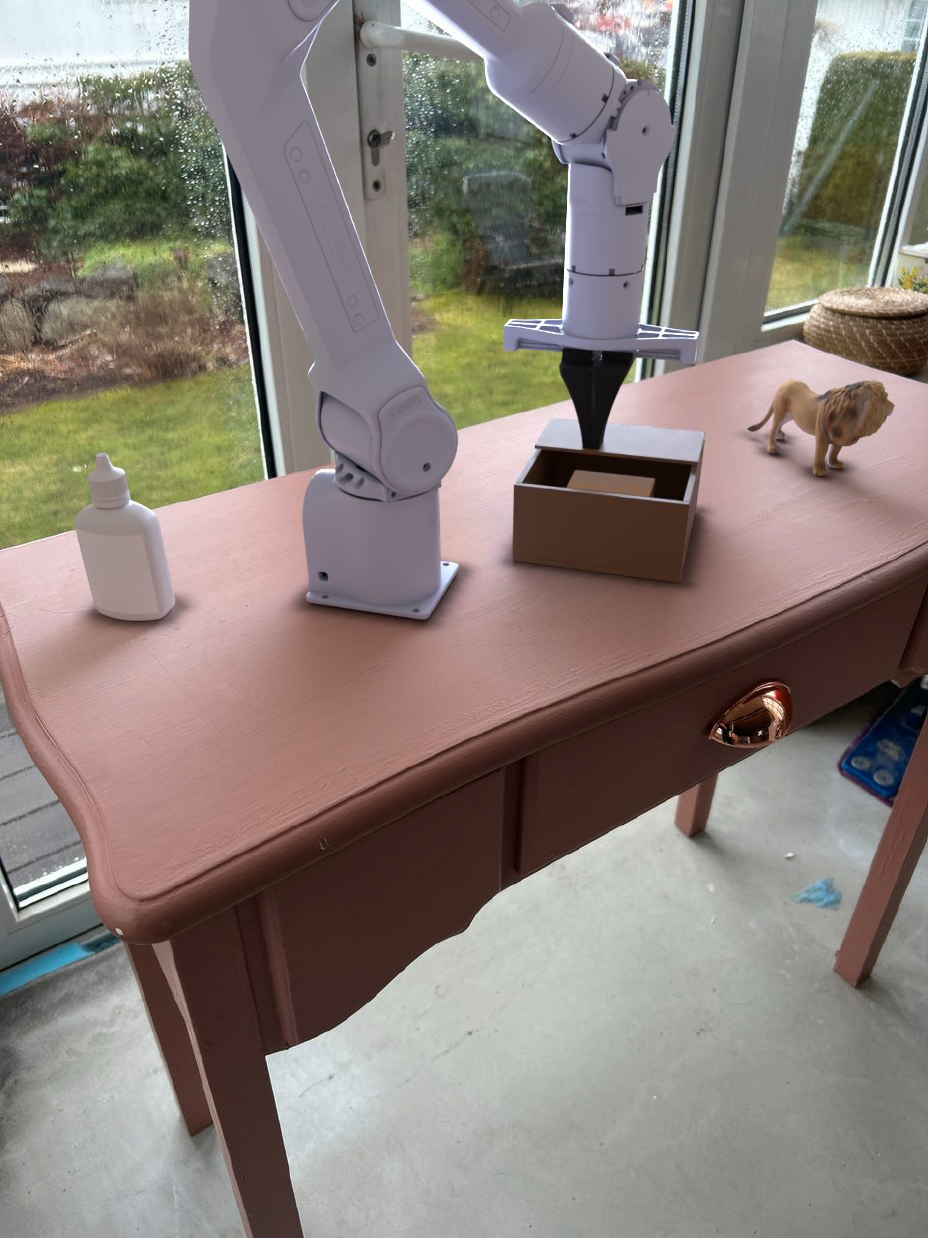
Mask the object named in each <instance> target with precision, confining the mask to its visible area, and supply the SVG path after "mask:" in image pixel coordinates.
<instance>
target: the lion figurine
mask: <svg viewBox="0 0 928 1238" xmlns="http://www.w3.org/2000/svg"><path fill="white" fill-rule="evenodd" d="M888 396H889V393H888V392H886V387H885V386H884V384H883V382H882V381H878V380H875V379H869V380H868V379H862V380H861V381H857V382H854V383H851V384H846V385H845V386H840V387H838V388H836V387H833V388H830V389H828V390H827V391H826V392H824V393H823V394H818V393H816V392H814V391H813V390H811V388H810V387H809V385H808V384H807V383H805V382H803V381H800V380H795V379H788V380H785V381H783V382H782V383H781V384H780V385H779V387H778V388H777V390H776V392H775V394H774V397H773V399H772V402H771V404H770V406H769V408H768V411H767V412H766V414H765V416H764V418H763V419H762V420H761V421H759V422H758V423H755V424H752V425H751V426H749V427H747V428H746V430H747V431H748V432H751V433H754V432H757V431H759V430H761V429H762V428H763V427H764V426H765V425H766V424H767V423H768V422H769V420H770V419H771V417H772V416H773V417H772V424H771V427H770V429H769V431H768V443H767V447H766V450H767V452H768V453H771V454H777V453H780V452H781V447H780V446H779V445H778V443H777V440H782V439H785V437H786V433H785V432H784V431H783V430H782V427H783V426H784V425H785V424H787V423H789V422H791V421H793V422H794V423H795V425H796V426H797V427H798V428H799V429H800V430H801V431H802V432H804V433H806V434H807V435H810V436H814V437H815V446H814V457H813V463H812V464H813V465H812V473H813V475H815V476H817V477H824V476H827V474H828V470H827V469H826V463H827V465H828V466H829V467H830V468H832V469H835V470H839V469H842V468H843V466H844V462H843V461H842V460H839V459H838V455H840V452H841V450H842V448H843V447H852V446H853V445H855V444H857V443H858V442H859V440H860V439H863V438H866V437H871V436H873V435H874V434H876V433H877V432H878V430H879V429H880V430H881V428H882V426H883V425H884V424H885V423H886V421H887V417H889V416H891V415H892V414H893V411H894V408H895V404H894V402H892V401H890V399H888ZM829 447H830V448H829ZM826 458H827V459H826Z"/></svg>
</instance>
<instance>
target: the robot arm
mask: <svg viewBox="0 0 928 1238" xmlns="http://www.w3.org/2000/svg"><path fill="white" fill-rule="evenodd" d="M339 1H340V0H189V4H188V5H189V7H188V9H189V10H188V41H187V42H188V46H187V50H188V52H187V53H188V60H189V64H190V68H191V71H192V74H193V77H194V80H195V82H196V85H197V86H198V89H199V91H200V93H201V96H202V98H203V101H204V103H205V106H206V108H207V110H208V113H209V115H210V117H211V119H212V122H213V124H214V127H215V129H216V131H217V133H218V136H219V138H220V140H221V143H222V145H223V148H224V150H225V152H226V155H227V157H228V159H229V161H230V162H229V163H230V164H231V166H232V168H233V171H234V173H235V175H236V178H237V180H238V182H239V185H240V187H241V190H242V192H243V194H244V197H245V199H246V201H247V204H248V206H249V208H250V210H251V213H252V216H253V218H254V220H255V223H256V225H257V227H258V229H259V232H260V235H261V237H262V239H263V241H264V243H265V246H266V248H267V250H268V253H269V255H270V258H271V260H272V262H273V265H274V267H275V269H276V271H277V274H278V277H279V278H280V281H281V283H282V286H283V288H284V290H285V293H286V295H287V297H288V300H289V302H290V304H291V307H292V309H293V311H294V314H295V316H296V319H297V321H298V323H299V325H300V328H301V330H302V333H303V335H304V337H305V339H306V342H307V345H308V346H309V349H310V351H311V353H312V356H313V358H314V362H313V364H312V366H311V367H310V368H309V370H308V373H307V377H308V379H309V383H310V385H311V387H312V390H313V393H314V400H315V407H314V408H315V409H314V421H315V427H316V431H317V433H318V435H319V437H320V440H322V442H323V443H324V444H325V445H326V446H327V447H328V448H329V449H331V450H332V451H333V452H334V463H335V464H334V465H335V466H334V468H324V469H323V468H322V469H320V470H317V471H316V472H315V474H314V475H313V476H312V477H311V478H310V481H309V483H308V485H307V486H306V489H305V492H304V497H303V503H302V513H301V514H302V515H301V517H302V518H301V519H302V531H303V532H302V533H303V540H304V549H305V557H306V566H307V575H308V585H309V591H308V592H307V593H306V595H305V599H306V602H308V603H310V604H317V605H324V606H331V607H337V608H342V609H343V608H344V609H350V610H356V611H362V612H369V613H376V614H383V615H387V616H388V615H390V616H395V617H401V618H409V619H415V620H420V621H421V620H423V621H424V620H427V619H429V618H430V617H431V615H432V614H433V612H434V610H435V609H436V608H437V605H438V604H439V602H440V600H441V599H442V597H443V596H444V594H445V593H446V591H447V590H448V588H449V587H450V586H451V583H452V581H453V580H454V578H455V577H456V576H457V573H459V569H460V568H459V567H460V566H459V564H458V563H456V562H453V561H445V560H442V549H441V548H442V545H441V544H442V543H441V542H442V541H441V511H440V509H441V508H440V488H442V480H443V479H444V478H445V477H446V476H447V474H448V473H449V471H450V469H451V468H452V466H453V464H454V461H455V459H456V456H457V452H458V446H459V435H458V434H459V433H458V429H457V426H456V425H457V424H456V422H455V420H454V418H453V417H452V415H451V413H450V412H449V411H448V410H447V409H445V407H443V405H441V404H440V403H438V401H436V400H435V398H434V397H433V395H432V393H431V391H430V388H429V385H428V382H427V379H426V377H425V376H424V374H423V373H422V372H421V371H420V369H419V368H418V367H417V365H416V364H415V363H414V362H413V360H412V359H411V358H410V356H409V355H408V354H407V353H406V352H405V351H404V349H403V348H402V347H401V345H400V344H399V343H398V341H397V340H396V338H395V334H394V332H393V329H392V325H391V323H390V321H389V318H388V316H387V313H386V309H385V306H384V305H383V301H382V299H381V296H380V293H379V290H378V287H377V285H376V281H375V279H374V276H373V273H372V271H371V268H370V265H369V262H368V259H367V256H366V254H365V252H364V248H363V246H362V243H361V240H360V237H359V235H358V232H357V228H356V226H355V223H354V221H353V219H352V215H351V213H350V209H349V207H348V204H347V201H346V199H345V196H344V192H343V190H342V187H341V184H340V182H339V179H338V176H337V174H336V170H335V168H334V165H333V162H332V160H331V156H330V153H329V151H328V148H327V146H326V142H325V140H324V136H323V134H322V132H321V129H320V126H319V123H318V120H317V117H316V115H315V111H314V110H313V107H312V104H311V101H310V98H309V96H308V93H307V89H306V87H305V84H304V82H303V79H302V68H303V66H304V64H305V61H306V59H307V57H308V54H309V52H310V50H311V47H312V45H313V44H314V41H315V38H316V36H317V33H318V31H319V28H320V26H321V25H322V22H323V20H324V19H325V18H326V17H327V15H328V14H329V13H330V12H331V11H332V10H333V8H334V7H335V6H336V5H337V4H338V3H339ZM401 1H402V2H404V3H405V4H407V5H408V6H409V7H410V8H412V9H414V10H415V11H416V12H418V13H419V14H420V15H422V16H424V17H425V18H426V19H428V20H429V21H430V22H432V23H433V24H435V25H436V26H438V27H439V28H440V29H442V30H443V31H445V32H446V33H447V34H448V35H450V36H452V37H453V38H454V39H455V40H456V41H458V42H460V43H461V44H462V45H464V46H466V47H467V48H468V49H470V50H471V51H472V52H474V53H475V54H476V55H478V56H480V57H481V58H483V60H484V69H485V71H484V72H485V79H486V83H487V86H488V89H489V90H490V91H491V93H492V94H493V95H495V96H496V97H498V98H499V99H501V100H502V101H503V102H504V103H505V104H506V105H508V106H509V107H510V108H511V109H513V110H514V111H516V112H517V113H518V114H520V116H522V117H523V118H524V119H526V120H527V121H529V122H530V123H531V124H532V125H534V126H535V127H536V128H537V129H539V130H540V131H542V132H543V133H544V134H545V135H547V136H549V137H550V138H551V139H550V140H551V144H552V148H553V151H554V153H555V155H556V157H557V159H558V160H559V162H560V163H561V164H563V165H564V164H566V165H568V181H567V182H568V183H567V205H566V206H567V207H566V208H567V209H566V228H565V231H566V232H565V254H564V275H563V277H564V279H563V302H562V318H558V319H557V318H551V319H549V318H548V319H512V318H510V319H509V320H507V322H506V323H505V324H504V325H503V351H506V352H507V351H508V352H517V351H519V350H526V351H527V350H528V351H540V352H541V351H543V352H554V353H555V352H556V353H561V359H560V360H561V361H560V363H559V364H558V370H559V375H560V377H561V379H562V381H563V383H564V385H565V387H566V389H567V391H568V394H569V396H570V399H571V401H572V404H573V407H574V410H575V413H576V418H577V420H578V422H579V426H580V432H581V438H582V447H583V448H589V449H600V447H601V445H602V443H603V440H604V434H605V429H606V425H607V423H608V421H609V417H610V415H611V412H612V409H613V406H614V403H615V401H616V399H617V396H618V394H619V391H620V389H621V387H622V385H623V383H624V382H625V380H626V378H627V376H628V374H629V372H630V370H631V369H632V367H633V364H634V363H635V361H636V359H645V360H646V359H647V360H649V359H650V360H659V361H660V360H662V361H676V362H679V364H681V365H691V366H694V365H695V363H696V361H697V357H698V348H699V340H700V332H699V331H692V330H683V329H677V328H676V329H675V328H670V327H664V326H657V325H652V324H646V323H640V316H641V307H642V306H641V304H642V294H643V293H642V292H643V284H644V283H643V279H644V270H645V269H644V268H645V259H646V249H647V237H648V225H649V224H648V223H649V213H650V212H649V211H650V202H652V201H653V199H654V194H657V192H658V191H657V190H658V181H659V174H660V172H661V168H662V167H663V165H664V163H665V162H666V160H667V158H668V156H669V155H670V152H671V150H672V147H673V145H674V141H675V136H676V130H677V126H676V125H673V124H672V115H671V112H670V111H671V109H670V108H669V105H668V102H667V101H666V98H665V97H664V95H663V94H662V92H661V90H660V89H659V88H658V87H657V86H656V85H655V84H653V83H652V82H650V81H648V80H644V79H628V78H627V77H626V75H625V73H624V71H623V70H622V69H621V68H620V66H621V60H620V59H619V58H618V57H617V56H616V55H615V54H614V53H613V52H605V51H604V52H603V51H601V50H600V49H599V48H598V47H597V46H596V45H594V44H593V43H592V42H591V41H590V40H589V39H588V38H587V37H586V36H585V35H584V34H582V33H581V32H580V31H579V30H578V29H577V28H576V27H575V26H574V25H573V24H574V23H573V22H574V21H575V18H576V14H575V12H574V11H573V10H572V9H571V8H570V7H568V6H567V4H565V3H563V2H560V3H559V2H558V3H556V2H555V3H548V2H546V1H542V0H537V1H531V2H528V3H526V4H523V5H520V6H519V5H518V4H517V3H516V2H515V1H514V0H401Z"/></svg>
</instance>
